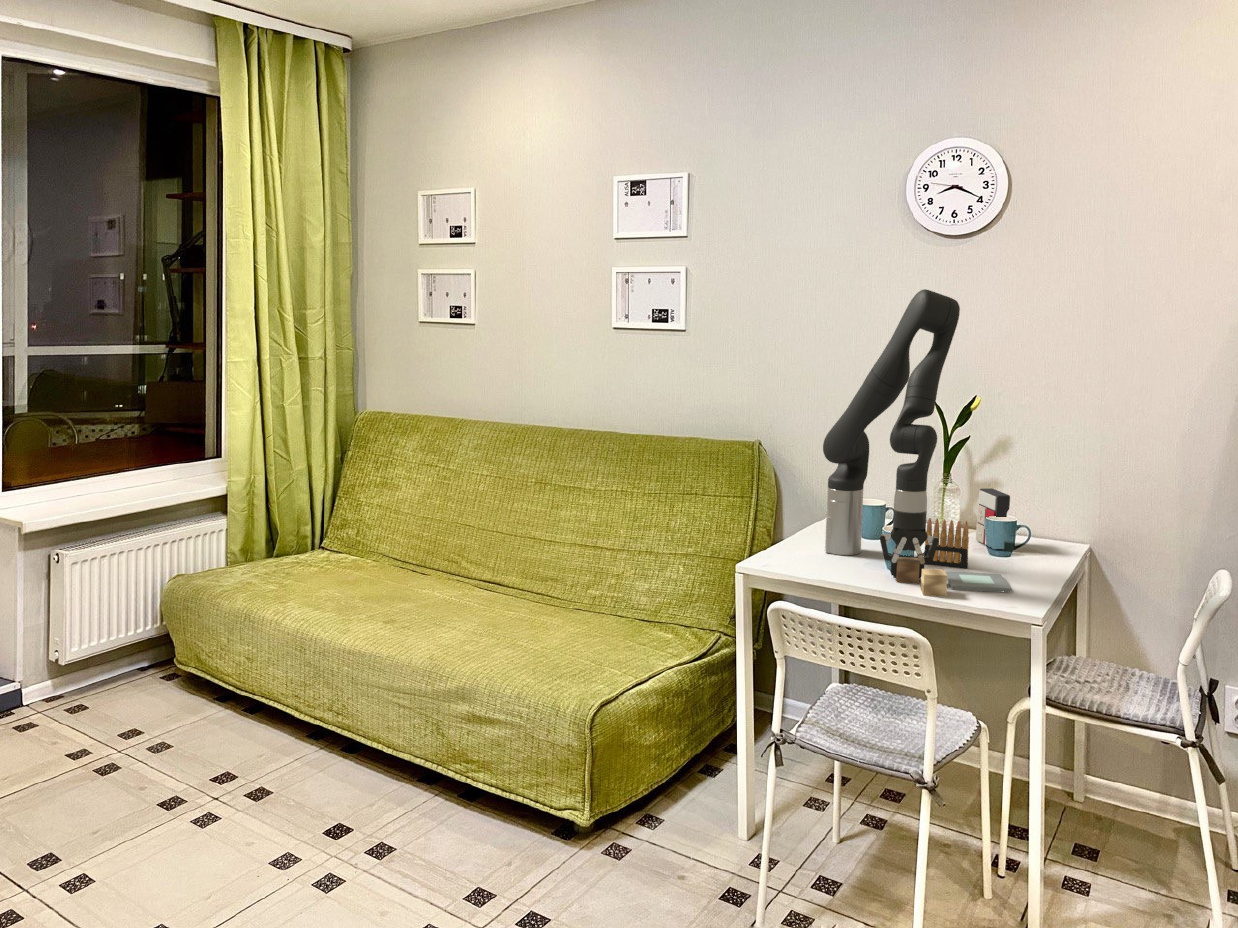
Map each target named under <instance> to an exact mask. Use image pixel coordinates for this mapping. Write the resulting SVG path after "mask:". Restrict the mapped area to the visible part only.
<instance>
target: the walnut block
mask: <svg viewBox="0 0 1238 928" xmlns="http://www.w3.org/2000/svg"><path fill="white" fill-rule="evenodd" d="M919 565H920V563H919V559H918V557H905V556H904V557H903V556H899V557H898V559H897V576H896V578H895V582H896V581H897V582H899V583H900V584H917V585H918V584H919V582H920V581H919V580H920V579H919ZM897 582H896V583H897ZM899 583H898V584H899Z"/></svg>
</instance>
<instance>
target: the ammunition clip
mask: <svg viewBox="0 0 1238 928" xmlns="http://www.w3.org/2000/svg"><path fill="white" fill-rule="evenodd" d="M948 526H949V527H948V529H947V521H946V519H943V521H942V523H941V530H940V521H939V518H936V519H935V522H934V526H933V523H932V518H930V517H929V518H928V519H927V522H926V533H927V535H929V536H937V538H938V539H939V542H938V546H937V549H936V552H935V555H934V558H933V561H932V562H927V563H925V565H926V566H933V567H934V566H935V567H943V568H944V567H946V568H953V569H954V568H955V569H962V570H963V569H964V570H967V569H968V568H969V542H970V537H969V524H968V520H966V521H965V522H964V524H963V530H962V524H961V521H960V520H958V521H957V523H956V527H955V528H954V526H955V525H954V520H953V519H951V520H950V522H949V525H948ZM933 527H934V528H933ZM947 530H948V533H947ZM954 531H955V532H954ZM962 531H963V532H962ZM929 547H930V545H929V543H928V540H926V541H925V542H924V552H923V557H924V556H927V554H928V551H929ZM925 565H924V566H925Z"/></svg>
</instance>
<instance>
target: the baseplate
mask: <svg viewBox="0 0 1238 928" xmlns="http://www.w3.org/2000/svg"><path fill="white" fill-rule="evenodd" d="M945 572H946V574H947V584H948V585H949V588H950V589H951V590H952V591H970V592H971V591H972V592H987V591H989V592H988V593H990V592H991V593H996V592H995V591H1000V592H999V593H1002V592H1001V591H1004V592H1003V593H1006V592H1011V593H1012V588H1011V586H1010V585H1009V584H1008V583H1007V581H1006V579H1005V578H1004V577H1003V575H1002V574H1001V573H994V572H993V573H992V572H990V573H989V572H988V573H987V572H973V571H972V572H970V571H967V572H966V571H950V570H945ZM993 591H994V592H993Z"/></svg>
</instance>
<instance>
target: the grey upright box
mask: <svg viewBox="0 0 1238 928" xmlns="http://www.w3.org/2000/svg"><path fill="white" fill-rule="evenodd" d="M978 492H979V493H978V505H977V513H976V522H977V523H976V531H975V540H976V541H977V542H978V541H979V542H978V543H980V544H981V545H984V546H985V529H984V519H985V518H986V517H989V516H996V517H1008V515H1007V514H1008V512H1009V510H1010V507H1011V506H1010V504H1011V495H1010V494H1007V493H1004V492H1003V491H1000V490H997V489H994V488H980V489H979V490H978Z"/></svg>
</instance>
